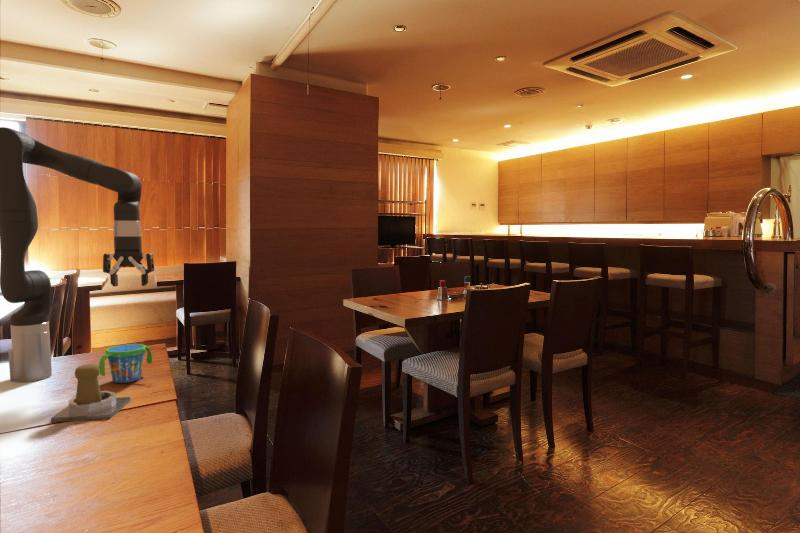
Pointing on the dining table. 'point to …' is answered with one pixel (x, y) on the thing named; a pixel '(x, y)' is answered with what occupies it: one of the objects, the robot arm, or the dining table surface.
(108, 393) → the hub
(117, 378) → the snack cup
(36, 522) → the dining table surface
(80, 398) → the cork
